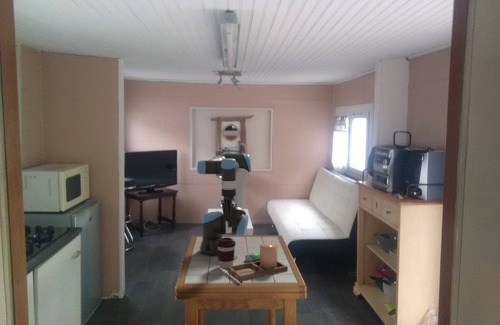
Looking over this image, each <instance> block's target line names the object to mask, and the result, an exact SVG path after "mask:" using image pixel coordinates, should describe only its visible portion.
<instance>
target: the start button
mask: <svg viewBox="0 0 500 325" xmlns="http://www.w3.org/2000/svg"><path fill="white" fill-rule="evenodd" d="M250 254H251V258H253V259H255V258H260V252H251V253H250Z"/></svg>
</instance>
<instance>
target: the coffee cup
mask: <svg viewBox="0 0 500 325" xmlns="http://www.w3.org/2000/svg"><path fill="white" fill-rule="evenodd" d="M236 244H237V243H236V241H235V240H233V238H232V237H222V238H221V239H220V240H219V241H218V242H217V246H218V255H217V256H218V257H217V258H218V264H219V268H220V269H222V270H226V268H228V267H230V266H234V261H235V260H234V259H235V246H236Z"/></svg>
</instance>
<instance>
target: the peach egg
mask: <svg viewBox="0 0 500 325" xmlns="http://www.w3.org/2000/svg"><path fill="white" fill-rule="evenodd" d="M278 246H279V245H278V244H276V243H272V242H264V243H261V244H259V254H260V268H262V269H263V270H269V269H274V268H277V261H278V254H279V253H278V250H279V249H278Z"/></svg>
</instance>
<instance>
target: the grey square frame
mask: <svg viewBox="0 0 500 325" xmlns="http://www.w3.org/2000/svg"><path fill="white" fill-rule="evenodd" d="M244 257H245V258H244V260H245V262H246V263H250V262H256V261H260V258H255V259H253V258H251V253H249V254H246V255H245V256H244Z"/></svg>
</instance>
